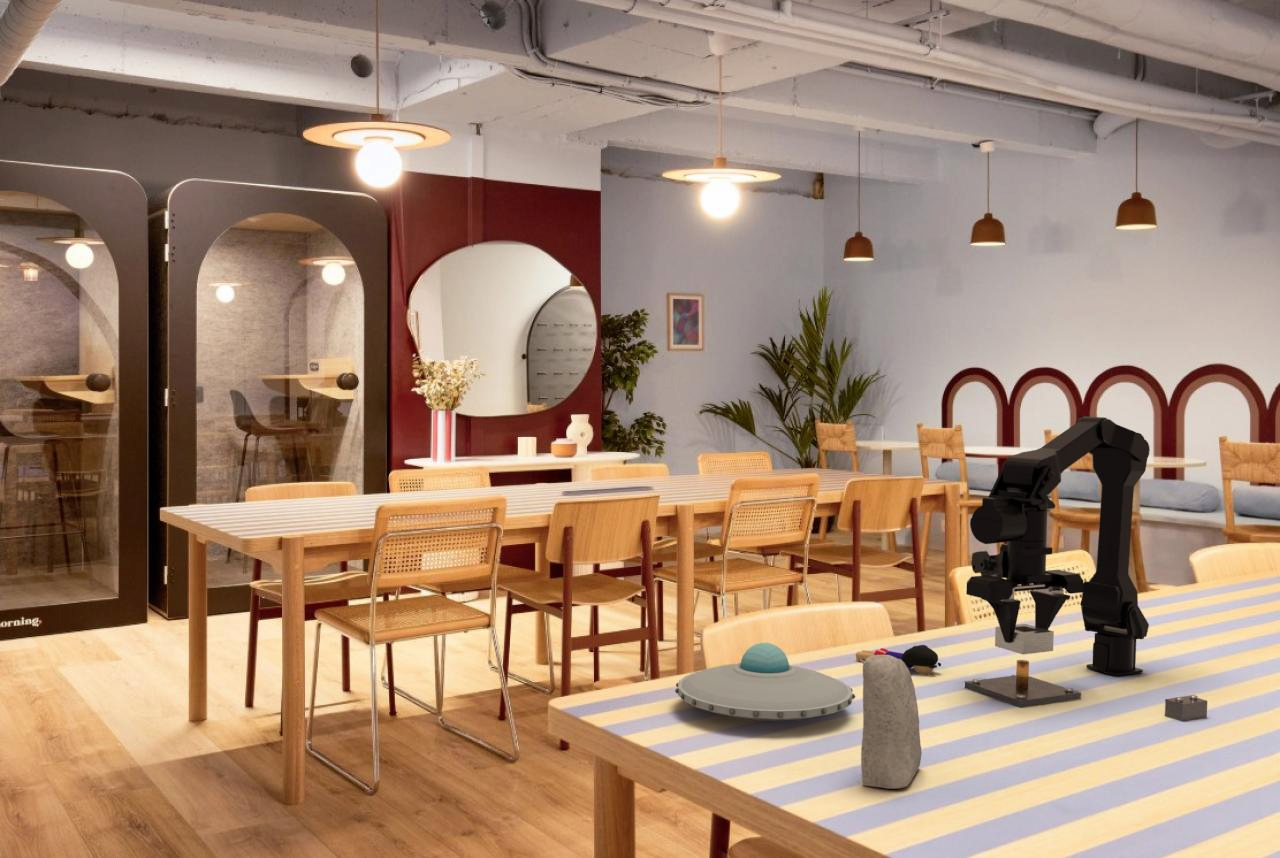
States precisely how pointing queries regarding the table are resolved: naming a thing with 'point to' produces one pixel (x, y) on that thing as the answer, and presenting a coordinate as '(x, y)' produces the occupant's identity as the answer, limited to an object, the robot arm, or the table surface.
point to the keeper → (1022, 689)
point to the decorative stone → (889, 724)
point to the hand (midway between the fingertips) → (1023, 640)
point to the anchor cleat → (1186, 708)
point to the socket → (1026, 639)
